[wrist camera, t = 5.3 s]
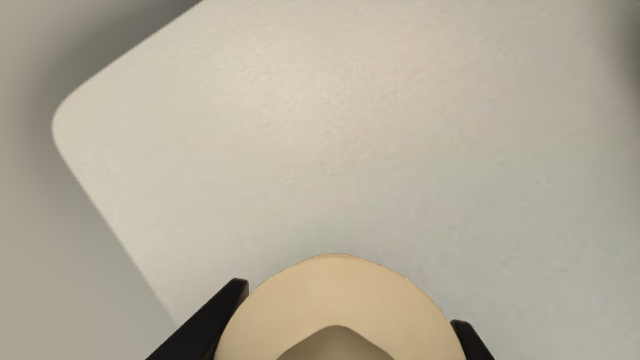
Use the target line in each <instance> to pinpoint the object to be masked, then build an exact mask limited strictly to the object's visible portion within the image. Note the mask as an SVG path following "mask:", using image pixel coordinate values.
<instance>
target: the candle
mask: <svg viewBox="0 0 640 360" xmlns="http://www.w3.org/2000/svg"><path fill="white" fill-rule="evenodd" d="M213 360H466V357H465V355H464V352H463V349H462V347H461V344H460V341H459V339H458V338H457V336H456V334H455V332H454V330H453V328H452V326H451V324H450V323H449V321H448V320H447V318H446V317H445V316H444V314H443V313H442V311H441V310H440V309H439V307H438V306H437V305H436V304H435V303H434V302H433V301H432V299H431V298H430V297H429V296H428V295H427V294H426V293H424V292H423V291H422V290H421V289H420V288H419V287H418V286H417V285H415V284H414V283H412V282H411V281H409V280H408V279H407V278H405V277H404V276H402V275H400V274H398V273H396V272H395V271H393V270H391V269H389V268H387V267H384V266H381V265H378V264H376V263H373V262H370V261H367V260H364V259H361V258H357V257H354V256H351V255H346V254H338V253H331V254H323V255H318V256H315V257H312V258H309V259H307V260H305V261H302V262H300V263H298V264H295V265H293V266H291V267H289V268H287V269H285V270H283V271H281V272H279V273H277V274H275V275H274V276H272V277H271V278H269V279H268V280H266V281H265V282H263V283H262V284H261V285H260V286H259V287H258V288H256V289H255V290H254V291H253V292H252V293H251V294H250V295H249V296H248V297H247V298H246V299H245V300H244V302H243V303H242V304H241V305H240V306H239V308H238V309H237V310H236V312H235V313H234V315H233V316H232V318H231V319H230V321H229V322H228V324H227V326H226V328H225V330H224V332H223V334H222V336H221V338H220V341H219V344H218V346H217V349H216V351H215V355H214V359H213Z"/></svg>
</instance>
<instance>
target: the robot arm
mask: <svg viewBox="0 0 640 360" xmlns="http://www.w3.org/2000/svg"><path fill="white" fill-rule="evenodd" d="M248 296H249V283H248V281H247V280H244V279H239V278H233V279H232V280H230V281H229V282H228V283H227V284H226V285H225V286H224V287H223V288H222V289H221V290H220V291H219V292H218V293H216V294H215V295H214V296H213V297H212V298H211V299H210V300H209V301H208V302H207V303H206V304H205V305H204V306H202V307H201V308H200V309H199V310H198V311H197V312H196V313H195V314H194V315H193V316H192V317H191V318H190V319H188V320H187V321H186V322H185V323H184V324H183V325H182V326H181V327H180V328H179V329H178V330H177V331H176V332H174V333H173V334H172V335H171V336H170V337H169V338H168V339H167V340H166V341H165V342H164V343H163V344H162V345H160V346H159V347H158V349H156V350H155V351H154V352H153V353H152V354H151V355H150V356H149V357H148V358H147V359H145V360H213V359H214V355H215V351H216V349H217V346H218V344H219V341H220V338H221V336H222V334H223V332H224V330H225V328H226V326H227V324H228V322H229V321H230V319H231V318H232V316H233V315H234V313H235V312H236V310H237V309H238V308H239V306H240V305H241V304H242V303H243V302H244V300H245V299H246V298H247V297H248ZM450 324H451V326H452V328H453V330H454V332H455V334H456V336H457V338H458V339H459V341H460V344H461V347H462V349H463V352H464V355H465V357H466V360H495V359H494V358H493V356H492V355H491V353H490V352H489V350H488V349H487V348H486V346H485V345H484V343H483V342H482V340H481V339H480V337H479V336H478V335H477V333H476V332H475V330H474V329H473V327H472V326H471V325H470V324H469V323H468V322H466V321H460V320H452V321H451V322H450Z"/></svg>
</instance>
